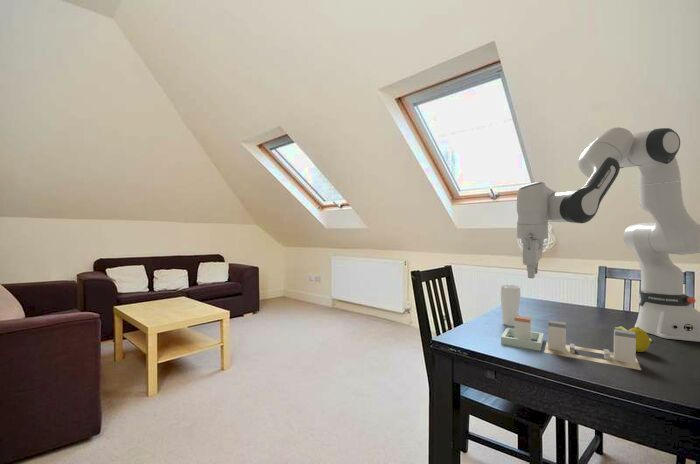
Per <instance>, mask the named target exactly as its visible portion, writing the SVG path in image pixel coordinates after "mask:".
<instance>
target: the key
mask: <svg viewBox="0 0 700 464" xmlns="http://www.w3.org/2000/svg"><path fill="white" fill-rule="evenodd" d="M614 329H618V330H625V331H628V330H629V329H626V328H625V327H623V326H621V325H620V326H615V327H614ZM649 341H650V343H652V341H653V340H652V338H650V337H649Z"/></svg>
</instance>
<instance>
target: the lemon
mask: <svg viewBox="0 0 700 464" xmlns="http://www.w3.org/2000/svg"><path fill="white" fill-rule="evenodd" d="M627 330H628V331H633V332H635V334H636V352H637V353H643V352H645V351H647V350H648V349H649V348H650V344H651V342H650V341H649V338H650V337H649V333H646V332H645V331H644V330H642V329H640V328H639V327H632V328H629V329H627Z"/></svg>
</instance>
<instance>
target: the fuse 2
mask: <svg viewBox="0 0 700 464" xmlns="http://www.w3.org/2000/svg"><path fill="white" fill-rule="evenodd" d="M613 352H614V356H613V357H614V360H615V361H621V362H627V363H633V364H635V362H636V359H637V356H636V355H637V353H636V334H635V332H633V331H625V330H620V329H616V328H613Z"/></svg>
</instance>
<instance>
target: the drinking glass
mask: <svg viewBox="0 0 700 464" xmlns="http://www.w3.org/2000/svg"><path fill="white" fill-rule="evenodd" d="M500 303H501V305H500V306H501V317H502V319H501V321H502V322H501V323H502V324H503V325H505V326H508V327H509V326H510V327H514V319H515V316H520V315H519V313H520V305H521V287H520V286H519V285H512V284H503V285H500Z"/></svg>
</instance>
